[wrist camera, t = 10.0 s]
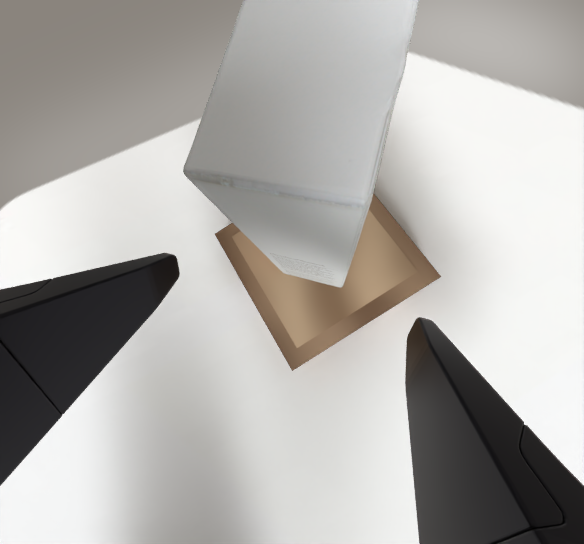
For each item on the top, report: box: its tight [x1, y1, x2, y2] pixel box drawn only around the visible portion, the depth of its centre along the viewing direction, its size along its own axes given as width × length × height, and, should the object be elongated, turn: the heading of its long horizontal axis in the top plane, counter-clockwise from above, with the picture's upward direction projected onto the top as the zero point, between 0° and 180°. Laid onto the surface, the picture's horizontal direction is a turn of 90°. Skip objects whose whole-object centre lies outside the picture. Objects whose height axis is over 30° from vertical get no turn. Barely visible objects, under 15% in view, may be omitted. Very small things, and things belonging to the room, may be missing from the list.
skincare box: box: [183, 0, 419, 288], centre depth 11 cm, size 6×4×12 cm
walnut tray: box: [215, 193, 441, 371], centre depth 18 cm, size 11×11×3 cm
